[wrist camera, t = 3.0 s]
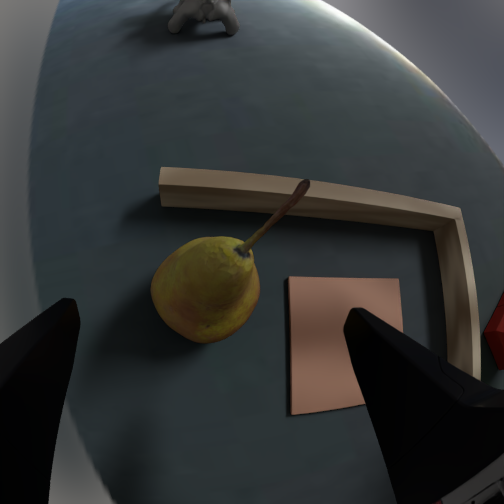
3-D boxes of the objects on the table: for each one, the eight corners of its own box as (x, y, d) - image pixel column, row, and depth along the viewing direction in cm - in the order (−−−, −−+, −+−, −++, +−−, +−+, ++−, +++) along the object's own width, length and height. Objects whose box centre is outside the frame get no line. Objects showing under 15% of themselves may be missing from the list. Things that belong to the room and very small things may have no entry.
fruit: (162, 249, 19) (139, 122, 8) (251, 260, 20) (331, 153, 9) (151, 337, 17) (91, 322, 6) (245, 347, 18) (336, 346, 7)
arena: (454, 415, 20) (478, 417, 17) (157, 466, 15) (152, 485, 12) (439, 220, 25) (459, 208, 22) (163, 190, 20) (160, 167, 17)
